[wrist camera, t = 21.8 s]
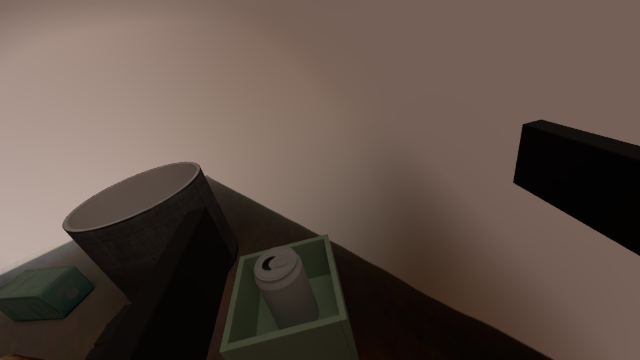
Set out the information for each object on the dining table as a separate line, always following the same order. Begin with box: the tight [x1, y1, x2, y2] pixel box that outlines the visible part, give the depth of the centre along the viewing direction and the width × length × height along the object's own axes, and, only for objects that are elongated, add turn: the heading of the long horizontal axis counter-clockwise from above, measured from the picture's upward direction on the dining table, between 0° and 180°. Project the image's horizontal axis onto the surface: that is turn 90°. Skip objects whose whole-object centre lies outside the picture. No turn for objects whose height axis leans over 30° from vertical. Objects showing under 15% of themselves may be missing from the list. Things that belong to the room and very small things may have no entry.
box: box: [0, 266, 94, 321], centre depth 52 cm, size 7×14×8 cm, turn 85°
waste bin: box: [220, 235, 359, 360], centre depth 36 cm, size 15×15×9 cm
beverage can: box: [254, 246, 319, 330], centre depth 35 cm, size 6×6×12 cm
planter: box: [63, 162, 238, 302], centre depth 50 cm, size 22×22×20 cm
